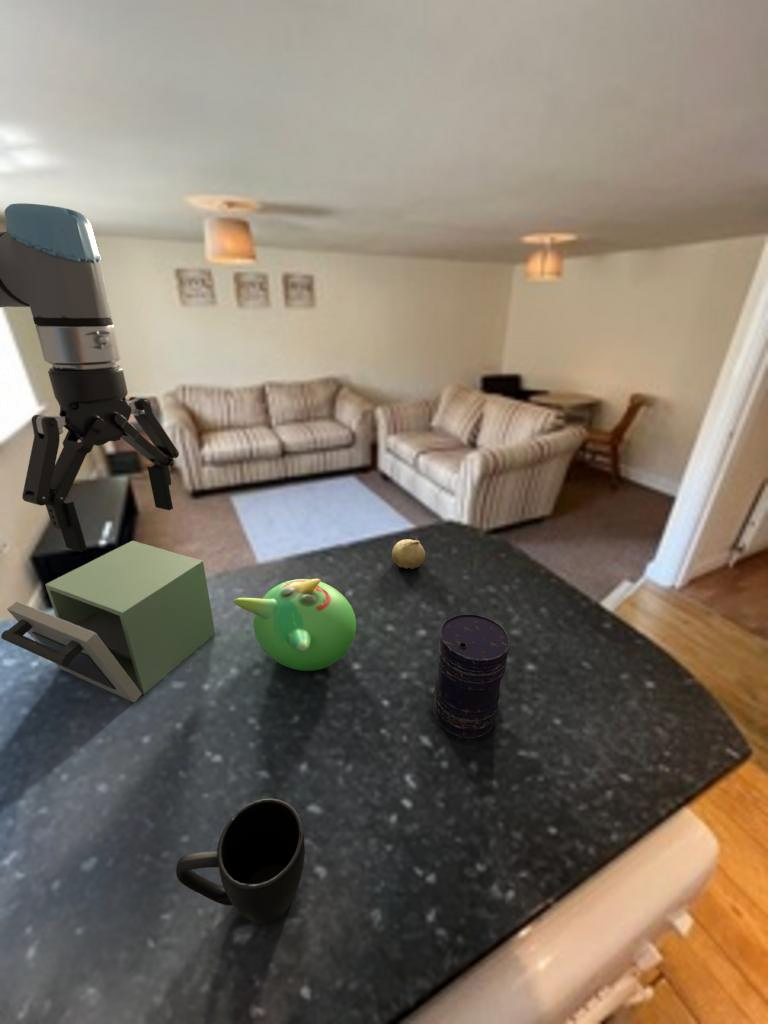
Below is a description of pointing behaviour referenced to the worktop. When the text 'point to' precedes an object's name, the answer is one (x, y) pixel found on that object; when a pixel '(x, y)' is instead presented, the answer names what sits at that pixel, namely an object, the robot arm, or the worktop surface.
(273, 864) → the mug
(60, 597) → the oven
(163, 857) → the worktop surface
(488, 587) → the worktop surface
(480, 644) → the dark oil drum
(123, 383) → the robot arm
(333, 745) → the worktop surface
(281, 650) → the toy bird
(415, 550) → the onion
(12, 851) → the worktop surface
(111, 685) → the door
